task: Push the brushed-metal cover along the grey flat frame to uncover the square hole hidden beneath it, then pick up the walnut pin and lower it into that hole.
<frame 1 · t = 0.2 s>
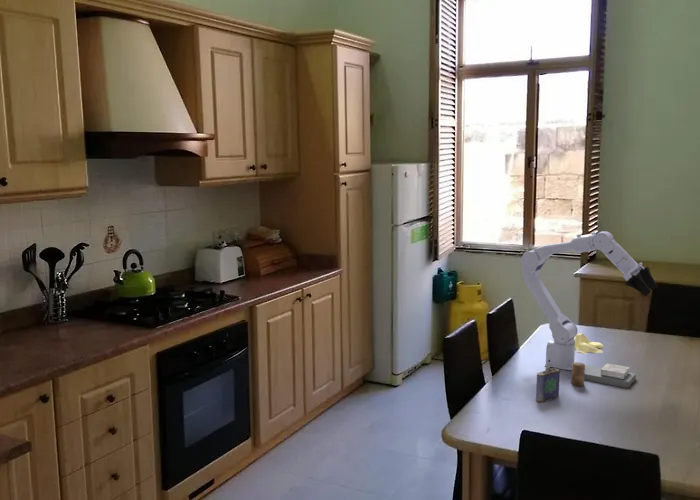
hand: (652, 291, 221), 31 cm above the table, tool tilted 45°, fingers open, 7 cm apart
grey flat frame: (604, 378, 229), on the table
sliding cover: (615, 371, 226), point 3 cm above the table, slide at 0.0 cm
flask: (547, 399, 211), on the table
pin: (577, 384, 223), on the table
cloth: (582, 349, 263), on the table
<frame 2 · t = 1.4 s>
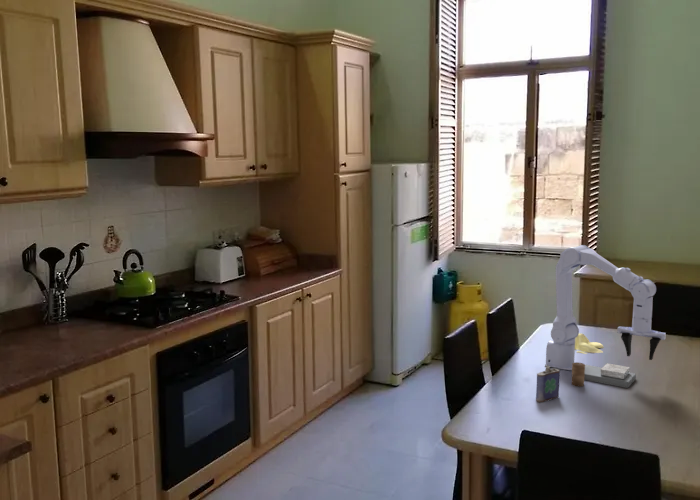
hand: (639, 357, 221), 9 cm above the table, tool pointing down, fingers open, 6 cm apart
nothing on the table moved.
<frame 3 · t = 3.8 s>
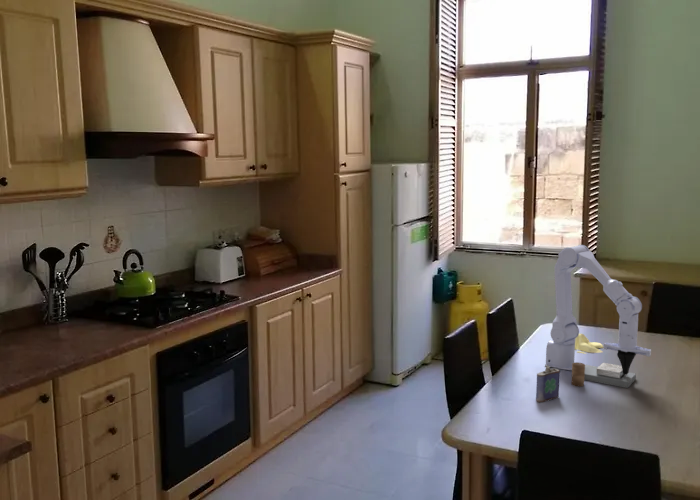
hand: (625, 373, 224), 3 cm above the table, tool pointing down, fingers closed
sliding cover: (611, 370, 227), point 3 cm above the table, slide at 1.3 cm, touching gripper
everything else where it was.
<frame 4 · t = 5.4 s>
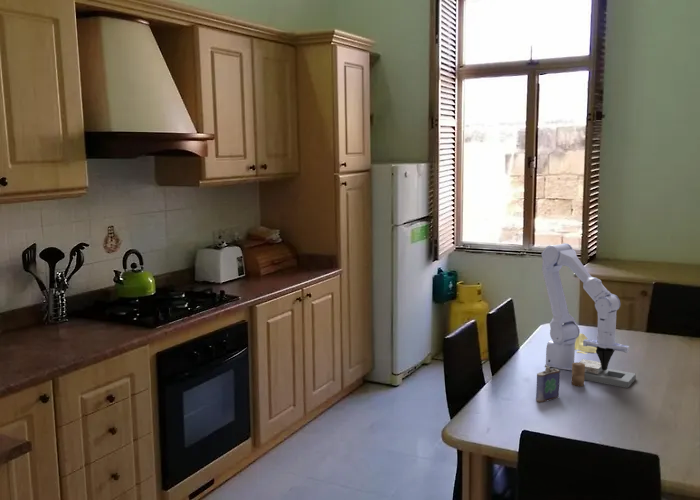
hand: (604, 369, 228), 3 cm above the table, tool pointing down, fingers closed
sliding cover: (590, 366, 231), point 3 cm above the table, slide at 8.2 cm, touching gripper
everything else where it was.
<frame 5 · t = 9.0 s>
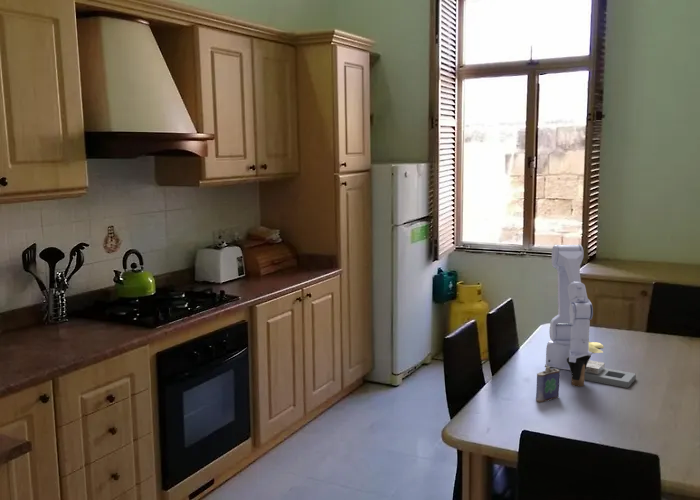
hand: (578, 377, 223), 2 cm above the table, tool pointing down, fingers closed on pin, 4 cm apart
sliding cover: (590, 366, 231), point 3 cm above the table, slide at 8.2 cm
pin: (577, 384, 223), on the table, touching gripper
everything else where it was.
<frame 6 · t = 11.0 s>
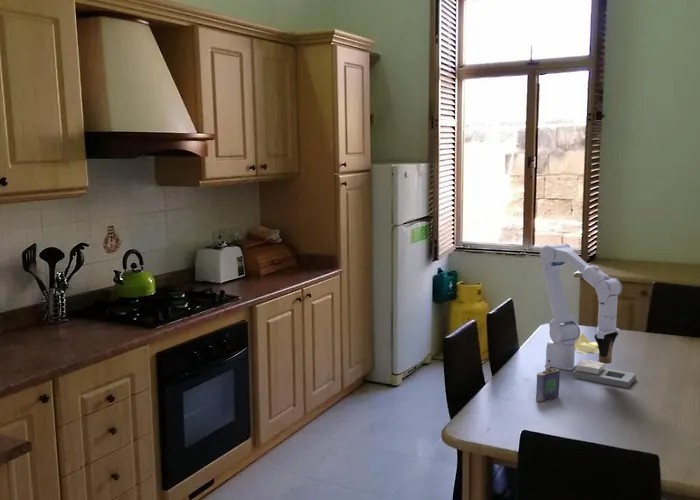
hand: (605, 354, 224), 9 cm above the table, tool pointing down, fingers closed on pin, 4 cm apart
pin: (605, 361, 225), point 7 cm above the table, touching gripper
everything else where it was.
when the fingers open (4 cm above the table, at t = 13.1 s): pin drops 1 cm, resting in grey flat frame.
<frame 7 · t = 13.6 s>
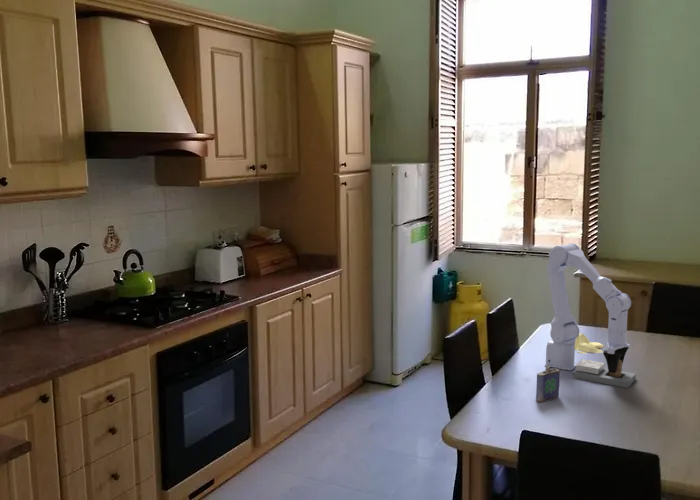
hand: (615, 369, 226), 4 cm above the table, tool pointing down, fingers open, 7 cm apart
pin: (614, 380, 227), resting in grey flat frame
everything else where it was.
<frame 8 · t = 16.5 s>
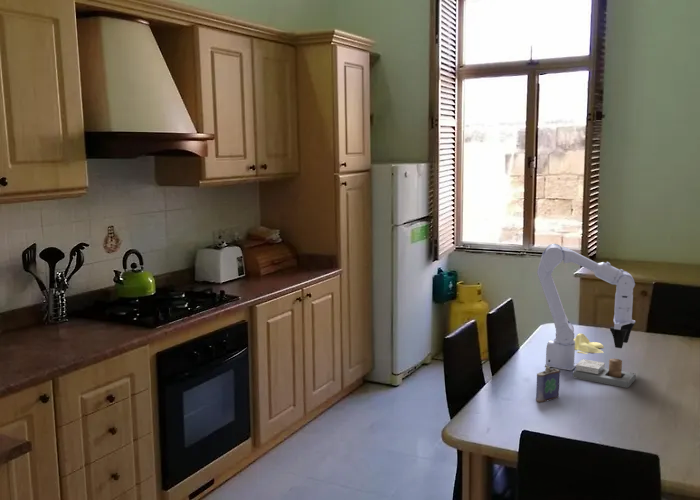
hand: (621, 345, 235), 9 cm above the table, tool pointing down, fingers open, 7 cm apart
nothing on the table moved.
at the end: pin 0.0 cm from the target spot, resting in grey flat frame; pin tilted 0°; sliding cover slide at 8.2 cm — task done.
